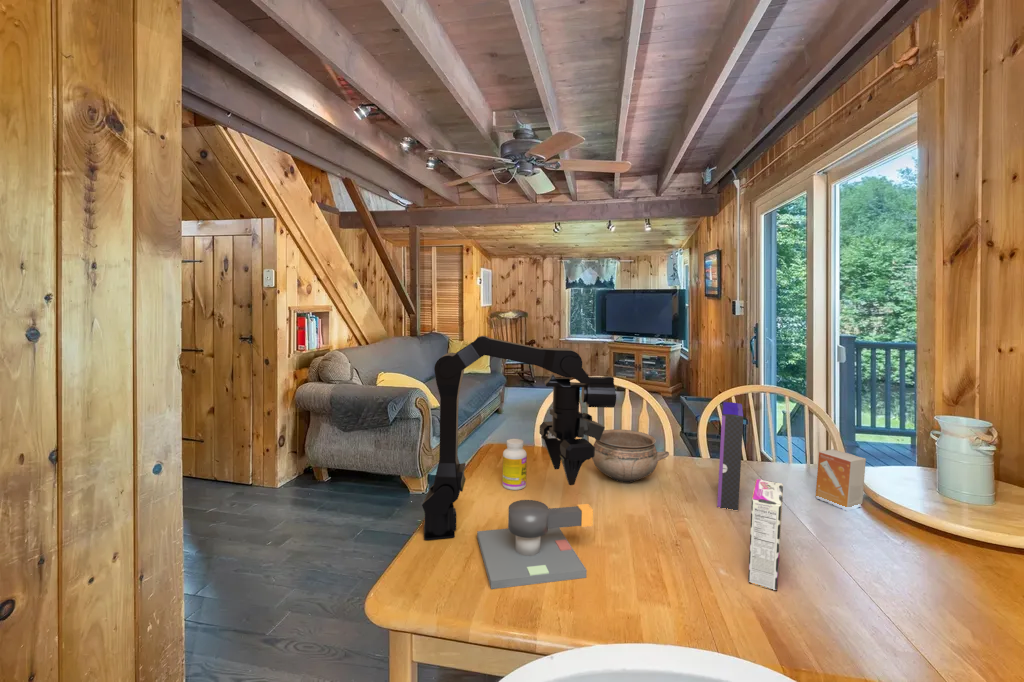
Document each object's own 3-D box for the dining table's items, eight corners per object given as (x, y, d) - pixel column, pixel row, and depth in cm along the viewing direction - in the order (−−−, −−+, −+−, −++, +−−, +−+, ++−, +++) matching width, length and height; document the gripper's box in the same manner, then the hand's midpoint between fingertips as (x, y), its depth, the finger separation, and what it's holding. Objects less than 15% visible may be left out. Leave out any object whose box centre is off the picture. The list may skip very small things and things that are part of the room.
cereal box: (718, 483, 130) (723, 401, 128) (737, 486, 128) (741, 403, 126) (717, 507, 114) (722, 414, 113) (738, 511, 112) (743, 416, 110)
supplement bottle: (523, 492, 122) (524, 445, 121) (500, 489, 124) (500, 443, 123) (527, 482, 129) (528, 438, 128) (505, 480, 130) (505, 436, 129)
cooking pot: (663, 470, 140) (665, 431, 139) (672, 495, 121) (674, 451, 120) (582, 463, 145) (583, 426, 144) (578, 486, 126) (579, 443, 125)
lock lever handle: (512, 540, 86) (513, 519, 85) (504, 520, 94) (504, 501, 93) (597, 532, 89) (598, 511, 89) (583, 513, 97) (583, 495, 97)
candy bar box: (750, 555, 93) (755, 477, 91) (779, 563, 90) (784, 483, 89) (745, 583, 83) (751, 497, 82) (777, 593, 80) (783, 503, 79)
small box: (814, 499, 120) (818, 451, 119) (830, 495, 123) (833, 448, 122) (847, 511, 113) (851, 461, 112) (862, 507, 116) (866, 458, 114)
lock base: (491, 589, 80) (491, 558, 80) (477, 537, 98) (477, 512, 97) (586, 577, 84) (587, 548, 84) (556, 530, 102) (557, 505, 101)
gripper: (620, 415, 91) (617, 491, 92) (583, 396, 109) (581, 460, 110) (567, 417, 88) (565, 495, 89) (539, 398, 106) (537, 462, 107)
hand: (563, 476), depth 99 cm, fingers open, 9 cm apart
